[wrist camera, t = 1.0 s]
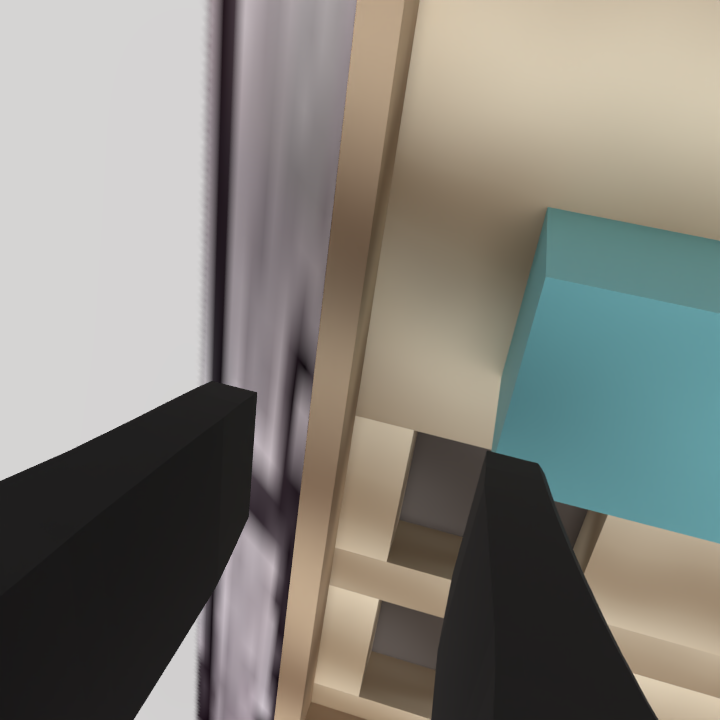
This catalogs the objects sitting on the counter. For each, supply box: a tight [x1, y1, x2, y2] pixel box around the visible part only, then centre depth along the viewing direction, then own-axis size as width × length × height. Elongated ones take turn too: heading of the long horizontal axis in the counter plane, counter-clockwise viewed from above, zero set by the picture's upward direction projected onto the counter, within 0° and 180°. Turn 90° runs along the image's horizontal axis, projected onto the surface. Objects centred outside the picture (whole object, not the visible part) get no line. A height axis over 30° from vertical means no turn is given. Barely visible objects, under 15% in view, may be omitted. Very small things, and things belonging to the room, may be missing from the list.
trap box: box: [274, 0, 720, 720], centre depth 17 cm, size 24×14×4 cm, turn 173°
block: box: [491, 207, 720, 544], centre depth 13 cm, size 4×4×4 cm
